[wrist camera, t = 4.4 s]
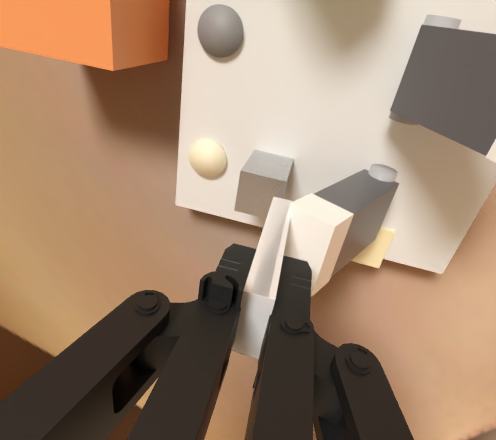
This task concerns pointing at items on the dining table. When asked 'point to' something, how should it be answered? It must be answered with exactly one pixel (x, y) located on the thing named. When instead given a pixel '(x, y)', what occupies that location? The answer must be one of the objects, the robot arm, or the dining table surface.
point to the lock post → (262, 182)
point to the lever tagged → (339, 221)
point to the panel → (325, 113)
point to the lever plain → (451, 85)
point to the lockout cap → (88, 30)
